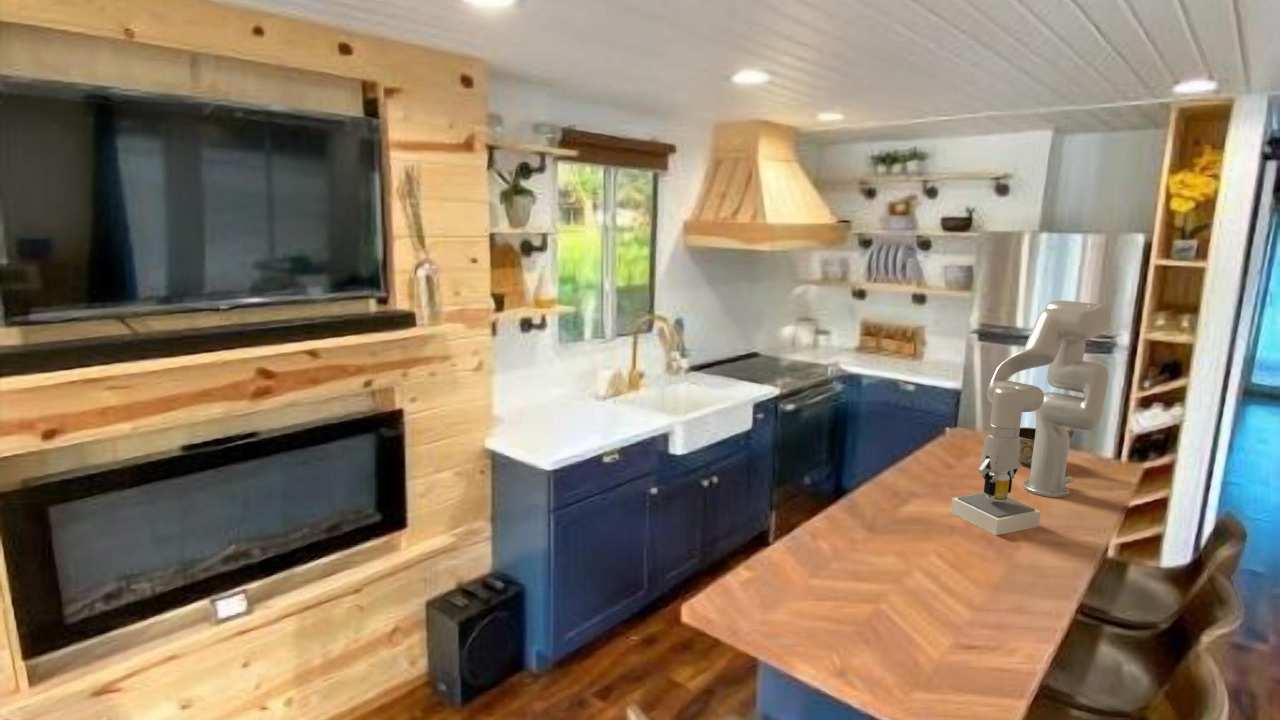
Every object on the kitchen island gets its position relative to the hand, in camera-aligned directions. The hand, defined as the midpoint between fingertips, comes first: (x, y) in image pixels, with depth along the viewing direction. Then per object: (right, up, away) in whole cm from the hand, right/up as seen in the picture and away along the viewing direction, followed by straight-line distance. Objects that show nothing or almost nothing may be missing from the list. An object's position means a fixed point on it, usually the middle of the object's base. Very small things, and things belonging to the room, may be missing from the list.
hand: (997, 492), depth 202 cm
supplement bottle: (0, -2, 0) cm, 2 cm away
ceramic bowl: (+37, +1, +49) cm, 61 cm away
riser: (0, -8, +2) cm, 8 cm away
